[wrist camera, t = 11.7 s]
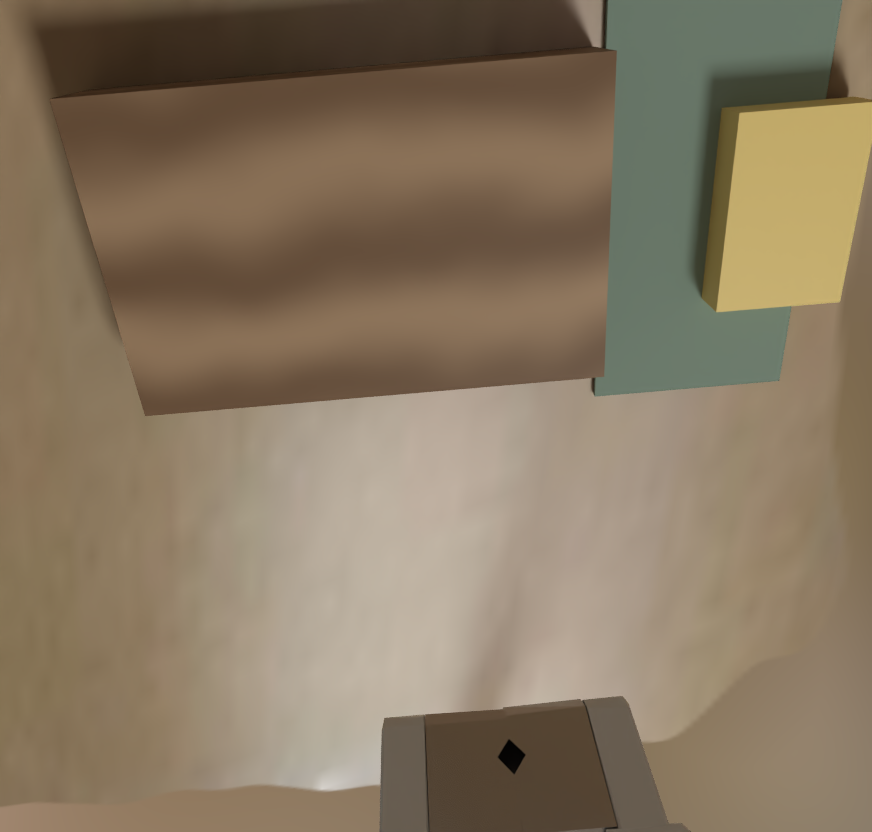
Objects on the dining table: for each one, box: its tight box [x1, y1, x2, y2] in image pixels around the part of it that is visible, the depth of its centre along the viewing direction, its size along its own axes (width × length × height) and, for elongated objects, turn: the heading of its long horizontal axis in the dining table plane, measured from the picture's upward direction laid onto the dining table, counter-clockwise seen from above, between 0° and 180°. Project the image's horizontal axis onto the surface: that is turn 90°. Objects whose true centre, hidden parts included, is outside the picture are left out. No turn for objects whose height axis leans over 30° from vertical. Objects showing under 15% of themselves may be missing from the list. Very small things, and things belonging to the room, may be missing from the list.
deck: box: [49, 47, 617, 416], centre depth 33 cm, size 14×22×4 cm, turn 94°
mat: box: [594, 0, 842, 396], centre depth 35 cm, size 20×10×1 cm, turn 4°
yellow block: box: [702, 97, 872, 312], centre depth 34 cm, size 9×6×2 cm, turn 4°
